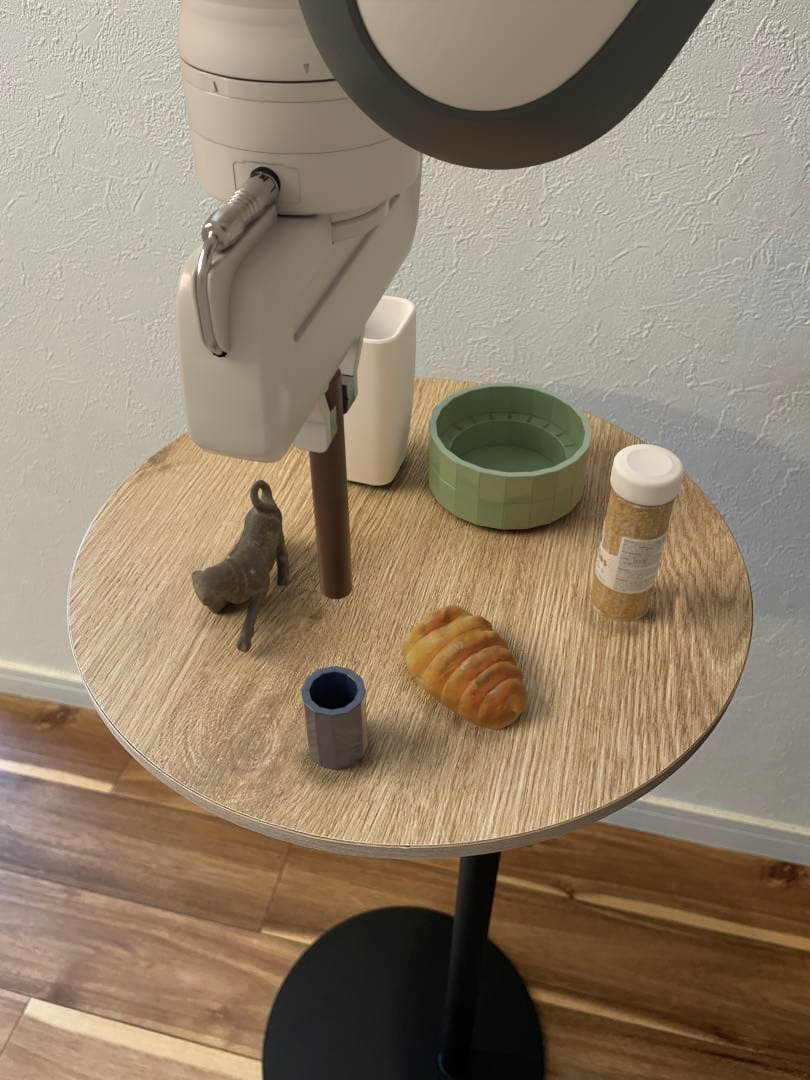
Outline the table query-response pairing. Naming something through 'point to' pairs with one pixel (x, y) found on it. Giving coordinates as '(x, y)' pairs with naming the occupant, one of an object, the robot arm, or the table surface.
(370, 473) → the cup
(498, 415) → the bowl
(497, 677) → the pastry
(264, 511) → the dog figurine
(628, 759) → the table surface
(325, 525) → the stick
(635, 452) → the tan spice jar
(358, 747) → the holder
